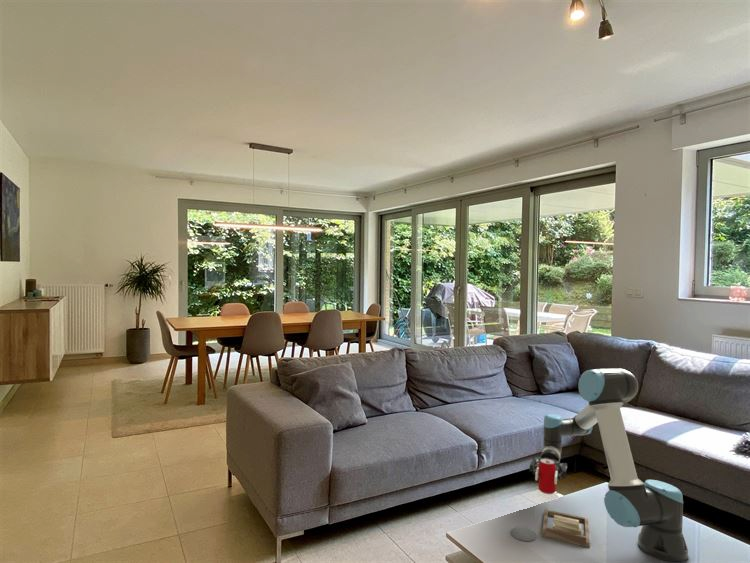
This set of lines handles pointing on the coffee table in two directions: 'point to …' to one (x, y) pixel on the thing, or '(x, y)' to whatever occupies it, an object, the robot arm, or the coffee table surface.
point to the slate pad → (523, 534)
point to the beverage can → (547, 476)
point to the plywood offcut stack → (567, 525)
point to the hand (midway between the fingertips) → (545, 478)
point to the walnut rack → (566, 535)
